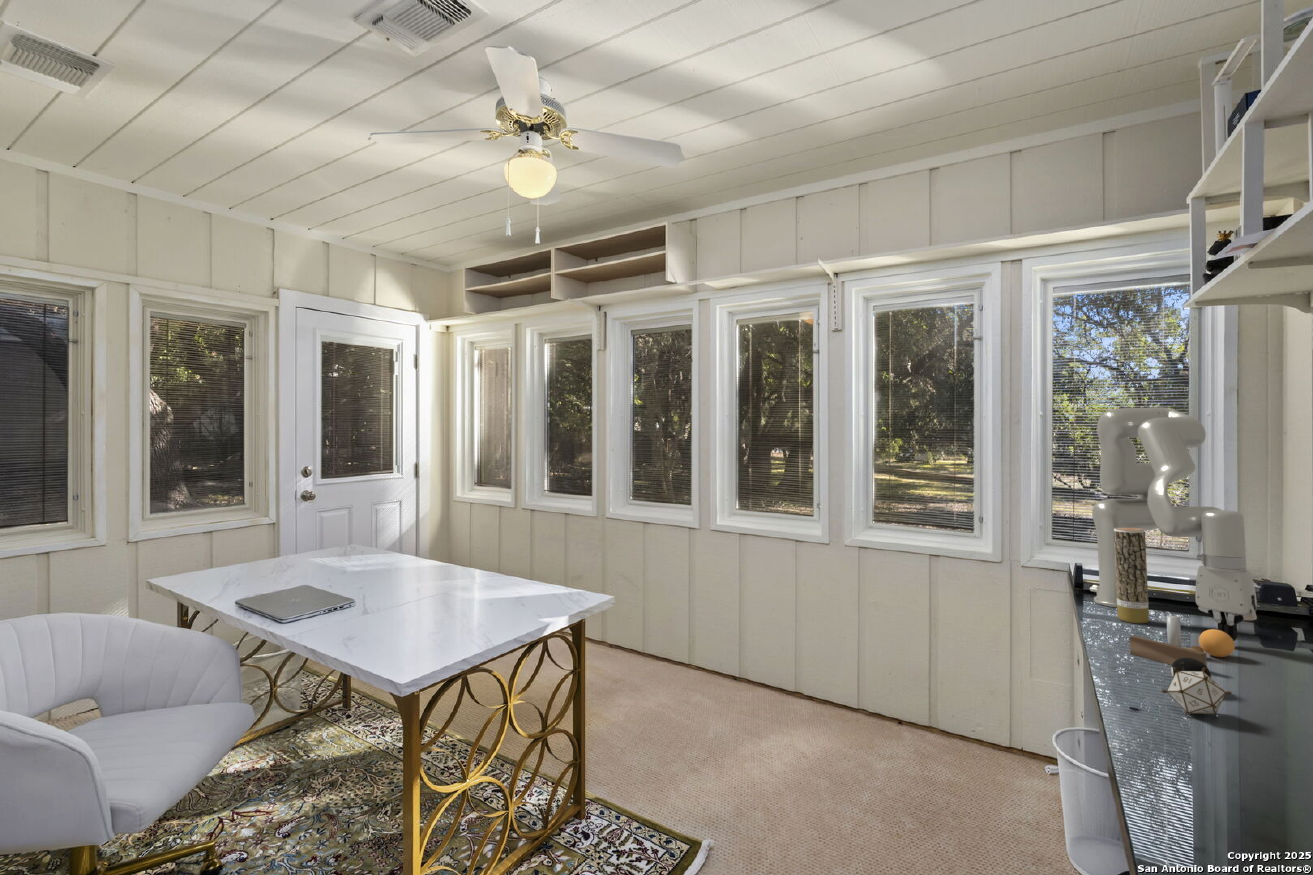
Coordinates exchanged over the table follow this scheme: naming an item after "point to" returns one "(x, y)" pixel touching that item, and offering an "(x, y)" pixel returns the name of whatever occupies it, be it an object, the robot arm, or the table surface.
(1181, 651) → the brown wooden plank
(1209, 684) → the game die
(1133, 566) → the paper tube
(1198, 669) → the billiard ball
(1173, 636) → the grey pin
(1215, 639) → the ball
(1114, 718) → the table surface
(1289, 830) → the table surface
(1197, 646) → the maple pin
